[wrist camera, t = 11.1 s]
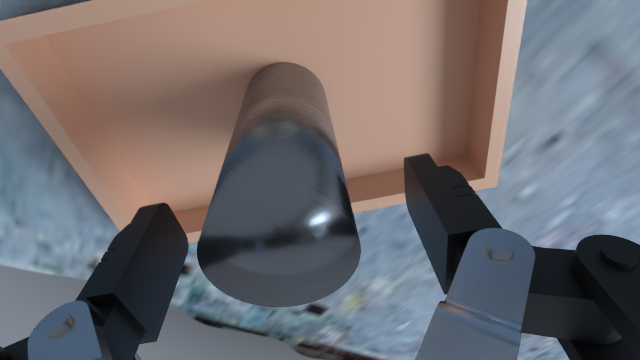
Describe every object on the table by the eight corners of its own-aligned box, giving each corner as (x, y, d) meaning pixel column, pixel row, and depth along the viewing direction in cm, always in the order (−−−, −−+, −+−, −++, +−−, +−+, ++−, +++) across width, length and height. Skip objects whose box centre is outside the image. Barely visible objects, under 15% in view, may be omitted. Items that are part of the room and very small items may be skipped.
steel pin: (318, 54, 17) (349, 179, 8) (332, 131, 19) (368, 293, 10) (233, 71, 17) (167, 214, 8) (258, 146, 19) (230, 317, 10)
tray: (500, -92, 14) (543, -100, 12) (473, 159, 22) (497, 186, 19) (21, 15, 15) (-30, 27, 13) (152, 220, 23) (136, 253, 20)
